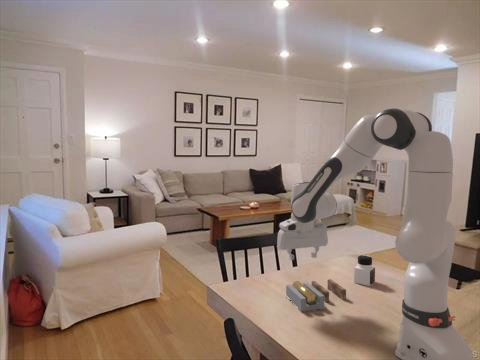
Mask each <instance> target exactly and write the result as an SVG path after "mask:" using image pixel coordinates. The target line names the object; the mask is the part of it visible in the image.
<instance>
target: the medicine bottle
mask: <svg viewBox="0 0 480 360" xmlns="http://www.w3.org/2000/svg"><path fill="white" fill-rule="evenodd" d="M353 271H354V273H353V280H354V281H353V283H354V284H358V285H361V286H366V287H371V286H372V285H373V284H374V283H375V282H376V266H374V265H373V258H372V256H370V255H367V254H361V255H359V256H357V265H355V267H354V270H353Z"/></svg>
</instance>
